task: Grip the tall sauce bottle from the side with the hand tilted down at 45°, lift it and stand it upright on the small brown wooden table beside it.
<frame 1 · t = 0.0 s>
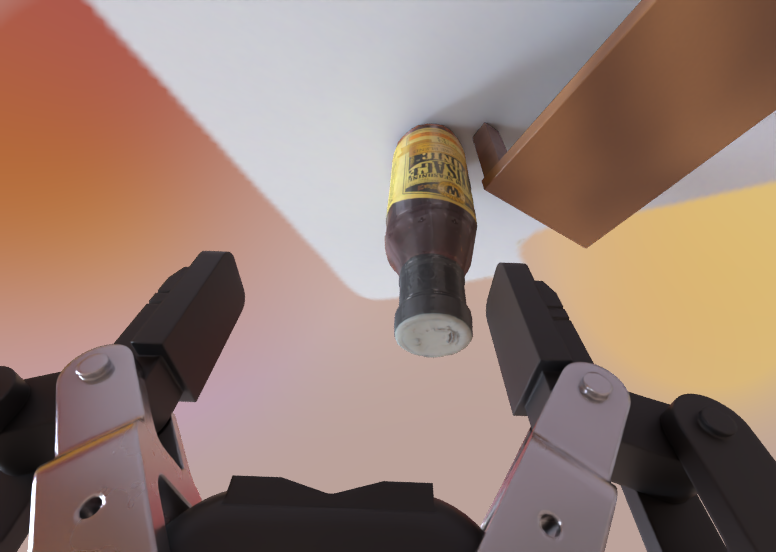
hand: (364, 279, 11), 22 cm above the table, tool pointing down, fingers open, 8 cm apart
sauce bottle: (425, 151, 31), on the table
small brown wooden table: (590, 87, 27), on the table
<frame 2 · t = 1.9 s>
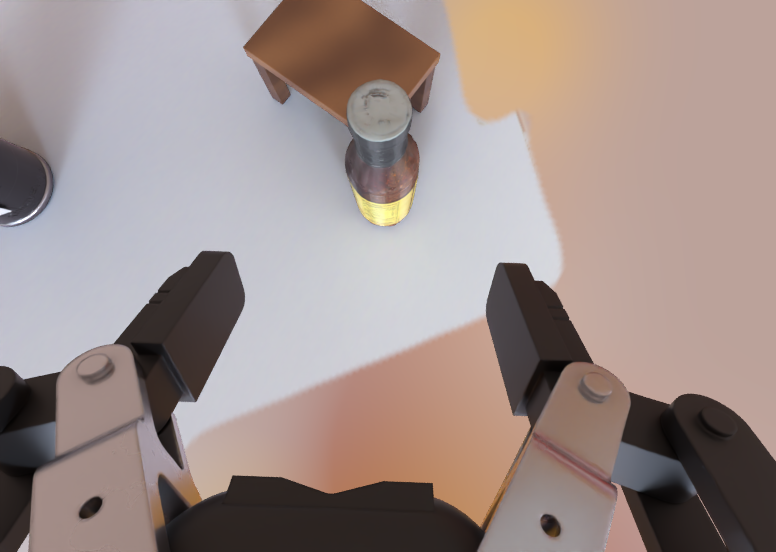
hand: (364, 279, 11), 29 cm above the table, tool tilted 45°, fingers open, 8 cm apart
sauce bottle: (384, 205, 41), on the table
small brown wooden table: (350, 100, 42), on the table
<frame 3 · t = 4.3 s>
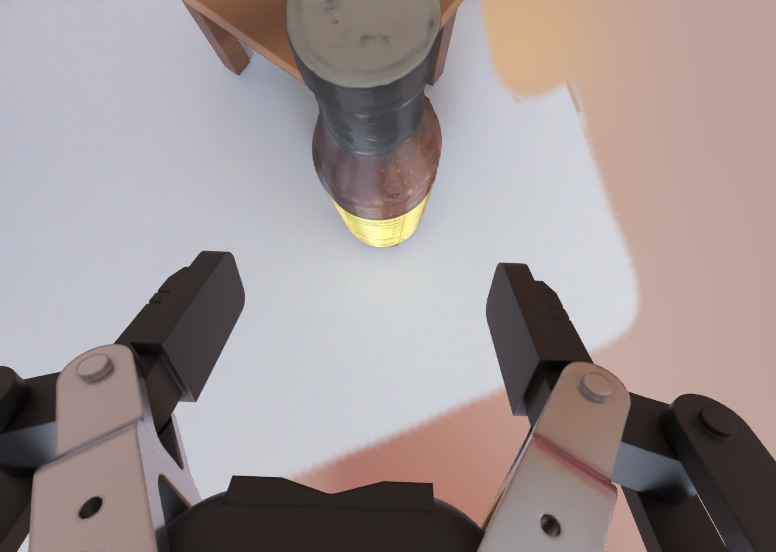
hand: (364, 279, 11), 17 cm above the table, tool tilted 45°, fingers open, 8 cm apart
sauce bottle: (382, 216, 29), on the table
small brown wooden table: (333, 69, 30), on the table
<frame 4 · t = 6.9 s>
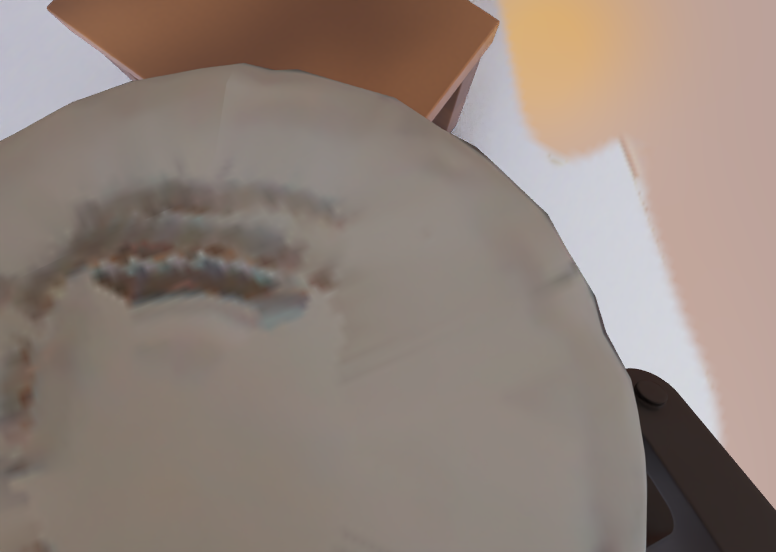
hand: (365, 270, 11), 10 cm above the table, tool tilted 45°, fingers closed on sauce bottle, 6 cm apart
sauce bottle: (375, 318, 21), on the table, touching gripper
small brown wooden table: (312, 119, 23), on the table
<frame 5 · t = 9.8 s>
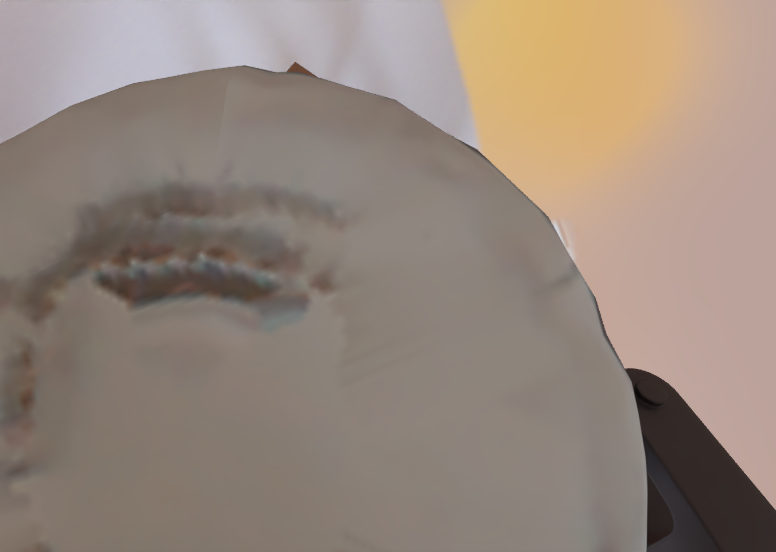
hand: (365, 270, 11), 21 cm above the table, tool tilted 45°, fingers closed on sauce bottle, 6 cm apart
sauce bottle: (375, 318, 21), point 11 cm above the table, touching gripper
when the fingers open (18 cm above the table, at t = 13.0 s): sauce bottle stays where it is, resting on small brown wooden table.
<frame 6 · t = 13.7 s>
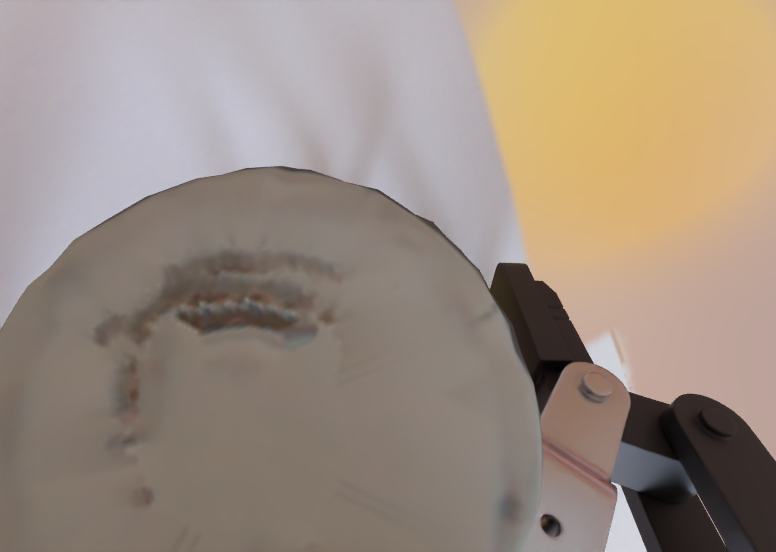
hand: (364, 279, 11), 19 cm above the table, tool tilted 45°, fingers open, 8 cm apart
sauce bottle: (376, 321, 22), point 8 cm above the table, touching small brown wooden table
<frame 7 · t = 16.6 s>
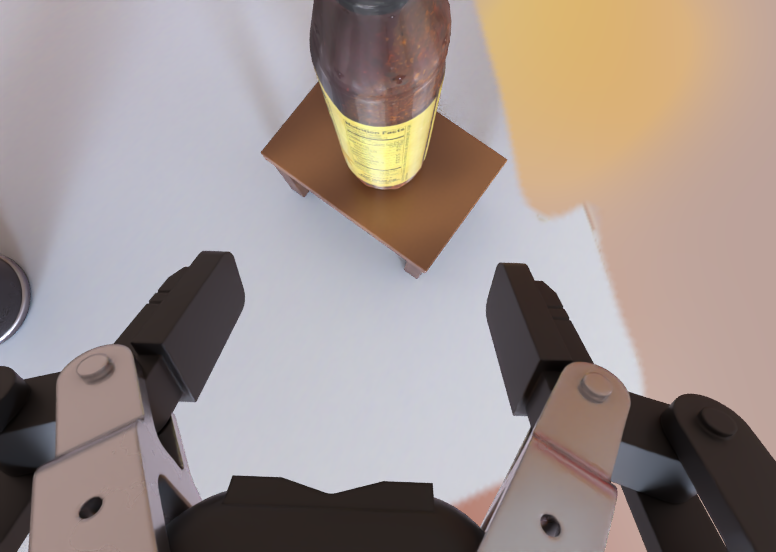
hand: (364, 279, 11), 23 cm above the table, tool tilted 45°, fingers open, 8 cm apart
sauce bottle: (384, 159, 27), point 8 cm above the table, touching small brown wooden table
small brown wooden table: (384, 191, 35), on the table
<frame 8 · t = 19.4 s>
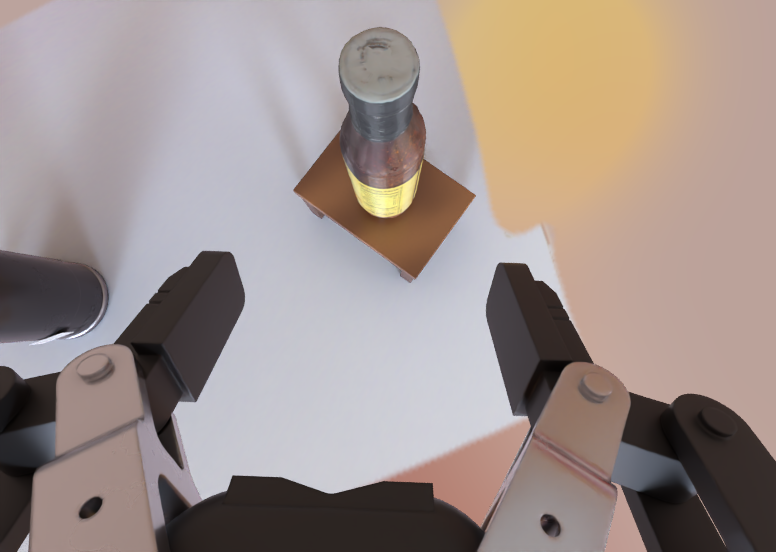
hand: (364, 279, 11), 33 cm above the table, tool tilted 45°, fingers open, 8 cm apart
sauce bottle: (384, 195, 37), point 8 cm above the table, touching small brown wooden table
small brown wooden table: (385, 214, 44), on the table
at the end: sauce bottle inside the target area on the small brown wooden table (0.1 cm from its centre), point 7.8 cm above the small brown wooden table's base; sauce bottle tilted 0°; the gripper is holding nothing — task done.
